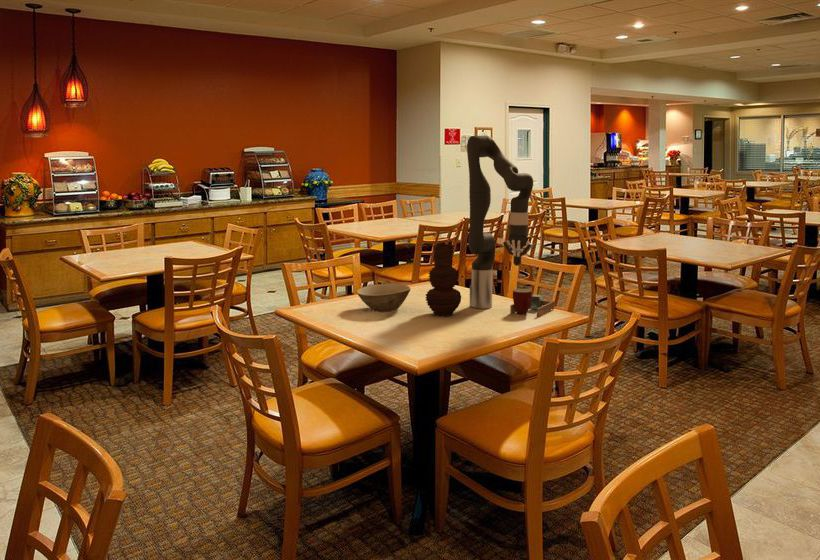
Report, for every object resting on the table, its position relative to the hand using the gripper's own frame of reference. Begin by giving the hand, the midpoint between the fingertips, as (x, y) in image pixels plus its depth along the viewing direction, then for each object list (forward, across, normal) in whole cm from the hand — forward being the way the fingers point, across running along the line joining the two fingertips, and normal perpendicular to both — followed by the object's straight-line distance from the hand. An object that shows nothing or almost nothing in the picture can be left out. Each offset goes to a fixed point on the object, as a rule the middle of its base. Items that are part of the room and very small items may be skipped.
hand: (517, 265), depth 282 cm
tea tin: (+23, 0, +22) cm, 32 cm away
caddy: (+23, 0, +17) cm, 28 cm away
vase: (+23, -30, -9) cm, 39 cm away
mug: (+23, -1, +10) cm, 25 cm away
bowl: (+24, -57, -15) cm, 63 cm away
